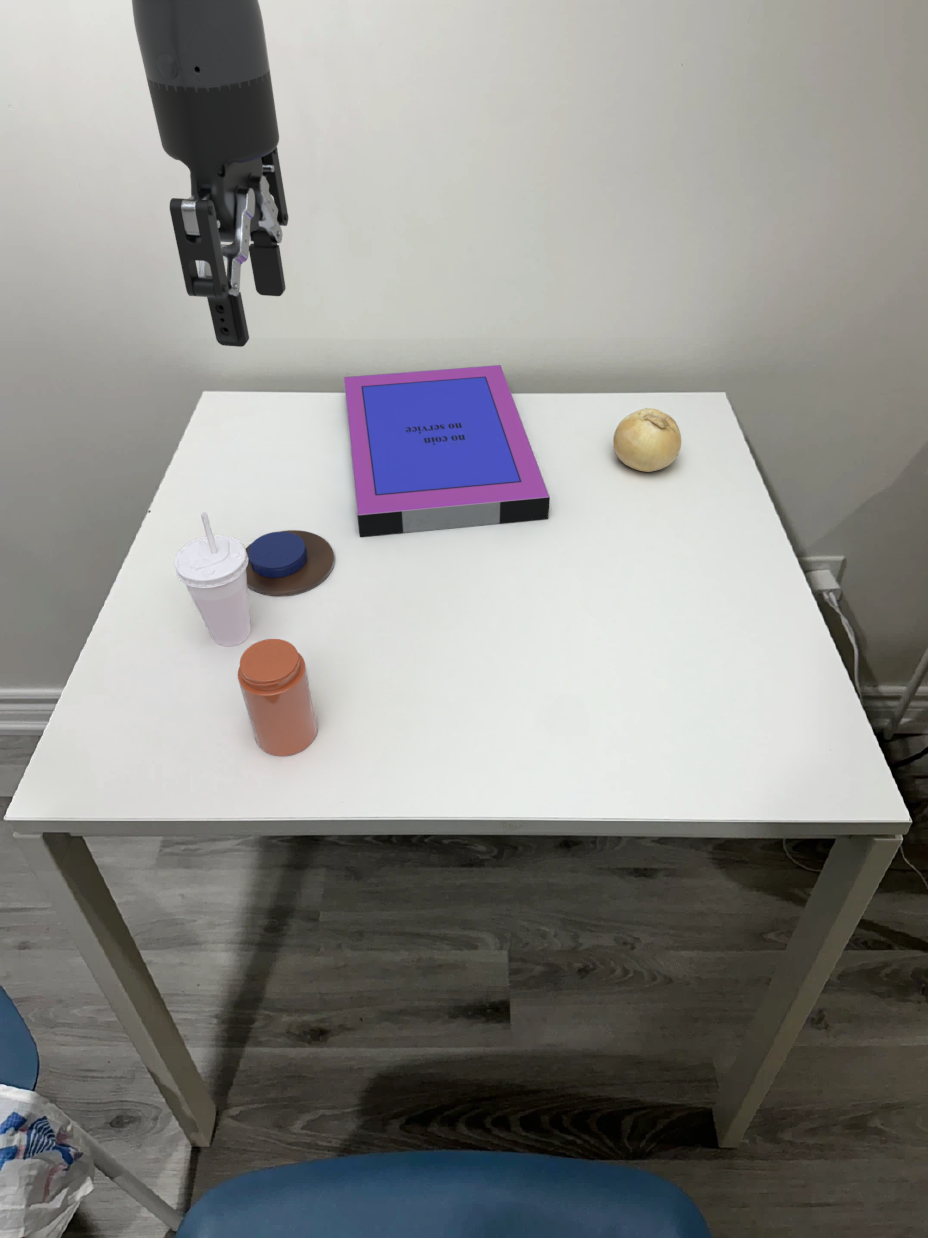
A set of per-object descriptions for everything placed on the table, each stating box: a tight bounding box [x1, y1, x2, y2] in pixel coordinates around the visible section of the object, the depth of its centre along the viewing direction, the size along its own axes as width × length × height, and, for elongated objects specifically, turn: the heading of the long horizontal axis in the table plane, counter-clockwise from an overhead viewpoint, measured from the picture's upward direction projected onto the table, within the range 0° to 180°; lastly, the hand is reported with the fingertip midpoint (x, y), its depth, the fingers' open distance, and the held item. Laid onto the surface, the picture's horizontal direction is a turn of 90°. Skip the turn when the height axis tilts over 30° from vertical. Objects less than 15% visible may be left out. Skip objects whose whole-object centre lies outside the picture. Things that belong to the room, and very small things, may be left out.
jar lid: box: [248, 531, 307, 578], centre depth 89 cm, size 6×6×2 cm
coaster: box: [245, 529, 335, 597], centre depth 89 cm, size 10×10×1 cm
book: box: [343, 364, 551, 538], centre depth 103 cm, size 21×3×30 cm
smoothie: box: [173, 511, 252, 647], centre depth 78 cm, size 6×6×14 cm
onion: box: [612, 407, 682, 473], centre depth 100 cm, size 8×8×7 cm
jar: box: [237, 638, 319, 757], centre depth 71 cm, size 5×5×9 cm
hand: (253, 317), depth 64 cm, fingers open, 8 cm apart
